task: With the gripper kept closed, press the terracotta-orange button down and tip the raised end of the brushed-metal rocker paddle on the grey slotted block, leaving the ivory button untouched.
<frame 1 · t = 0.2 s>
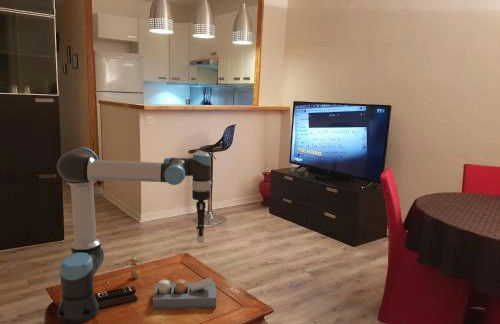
hand: (200, 237, 173), 27 cm above the table, fingers open, 13 cm apart
button right: (180, 286, 171), point 6 cm above the table, slide at 0.0 cm
rocker: (201, 284, 172), point 7 cm above the table, hinge at -18.0°
figurine: (134, 279, 189), on the table
grey slotted block: (185, 300, 172), on the table
button left: (164, 287, 170), point 6 cm above the table, slide at 0.0 cm
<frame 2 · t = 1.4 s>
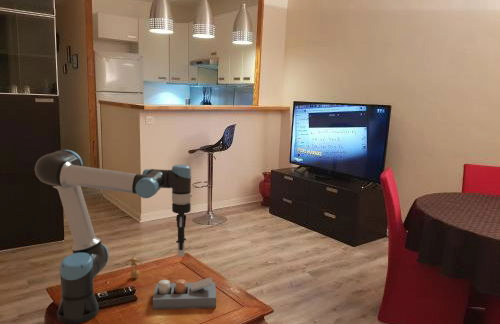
hand: (181, 255, 168), 20 cm above the table, fingers closed
nothing on the table moved.
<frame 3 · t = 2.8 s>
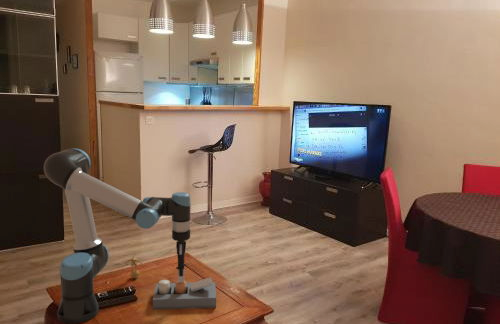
hand: (181, 281, 170), 9 cm above the table, fingers closed
button right: (180, 287, 171), point 6 cm above the table, slide at 0.2 cm, touching gripper
everything else where it was.
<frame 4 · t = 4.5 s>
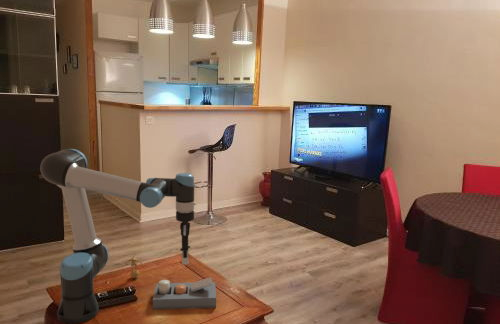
hand: (185, 263, 169), 17 cm above the table, fingers closed
button right: (180, 291, 171), point 4 cm above the table, slide at 2.3 cm
everything else where it was.
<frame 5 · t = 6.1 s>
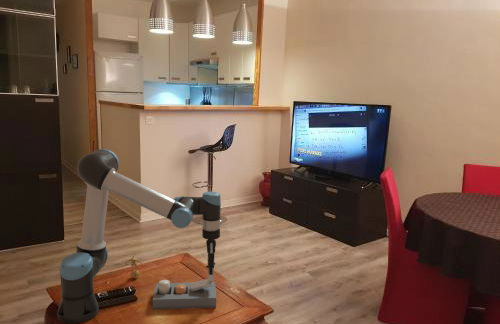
hand: (210, 280, 172), 9 cm above the table, fingers closed
rocker: (201, 284, 172), point 7 cm above the table, hinge at -13.1°, touching gripper
everything else where it was.
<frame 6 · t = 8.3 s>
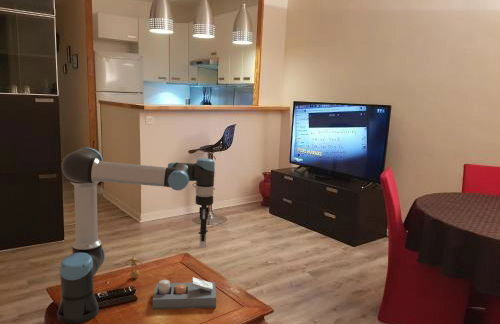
hand: (202, 247, 173), 22 cm above the table, fingers closed
rocker: (202, 284, 172), point 7 cm above the table, hinge at 19.0°
everything else where it was.
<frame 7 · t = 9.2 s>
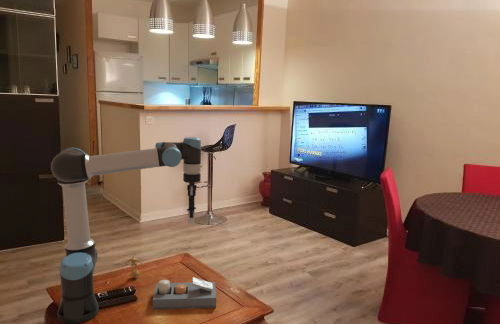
hand: (191, 223, 179), 30 cm above the table, fingers closed
nothing on the table moved.
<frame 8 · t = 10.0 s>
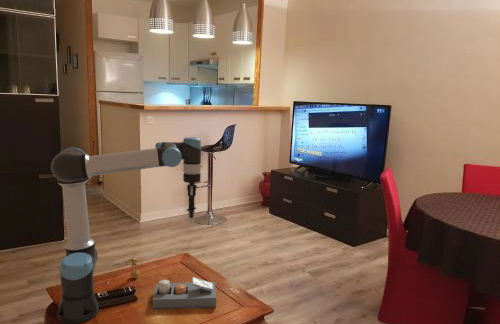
hand: (191, 223, 179), 30 cm above the table, fingers closed
nothing on the table moved.
at the end: button right slide at 2.3 cm; rocker at +19° (first picture: -18°); button left slide at 0.0 cm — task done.
